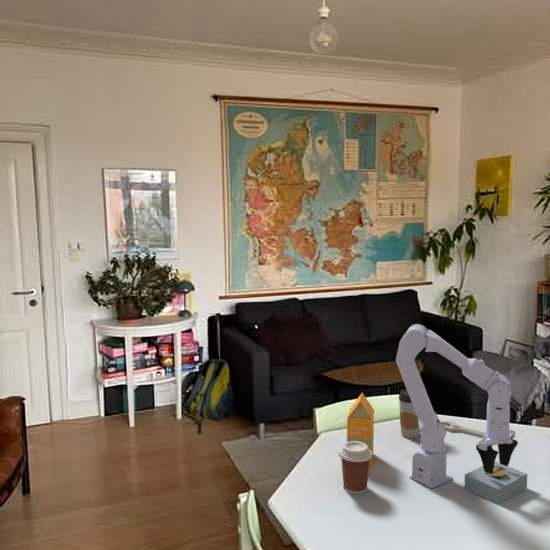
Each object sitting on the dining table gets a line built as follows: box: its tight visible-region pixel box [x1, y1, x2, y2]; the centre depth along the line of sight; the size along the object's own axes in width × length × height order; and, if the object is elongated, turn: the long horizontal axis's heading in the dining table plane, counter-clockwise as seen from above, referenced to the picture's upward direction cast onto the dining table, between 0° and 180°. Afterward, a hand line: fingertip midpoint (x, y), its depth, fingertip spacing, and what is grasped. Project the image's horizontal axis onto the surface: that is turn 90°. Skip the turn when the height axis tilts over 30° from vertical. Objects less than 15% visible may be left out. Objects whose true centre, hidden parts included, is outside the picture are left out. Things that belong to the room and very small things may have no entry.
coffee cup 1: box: [338, 441, 372, 495], centre depth 143 cm, size 9×9×12 cm
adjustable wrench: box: [441, 420, 486, 439], centre depth 179 cm, size 25×6×2 cm, turn 44°
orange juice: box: [346, 392, 375, 467], centre depth 160 cm, size 8×9×20 cm
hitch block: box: [463, 461, 528, 505], centre depth 143 cm, size 14×10×4 cm
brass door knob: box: [486, 465, 506, 479], centre depth 143 cm, size 5×5×6 cm
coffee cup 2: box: [398, 389, 421, 439], centre depth 179 cm, size 8×8×15 cm
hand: (496, 468), depth 142 cm, fingers open, 7 cm apart
